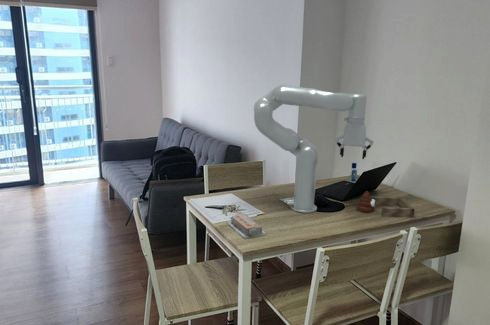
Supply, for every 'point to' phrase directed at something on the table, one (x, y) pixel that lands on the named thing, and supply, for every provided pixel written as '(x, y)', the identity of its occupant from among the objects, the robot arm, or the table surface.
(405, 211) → the walnut bay
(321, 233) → the table surface
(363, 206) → the poop emoji
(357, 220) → the table surface
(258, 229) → the packaged product
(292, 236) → the table surface
